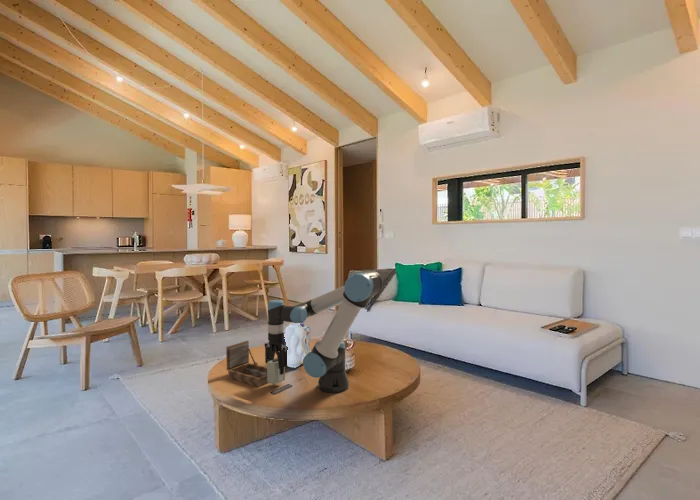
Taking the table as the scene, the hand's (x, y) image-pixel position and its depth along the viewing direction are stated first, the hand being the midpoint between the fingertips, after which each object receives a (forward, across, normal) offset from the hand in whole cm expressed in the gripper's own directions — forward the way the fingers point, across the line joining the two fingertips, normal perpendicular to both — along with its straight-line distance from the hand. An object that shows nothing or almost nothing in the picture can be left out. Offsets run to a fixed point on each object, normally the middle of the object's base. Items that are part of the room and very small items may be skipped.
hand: (276, 379), depth 203 cm
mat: (+4, 0, 0) cm, 4 cm away
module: (+1, 0, 0) cm, 1 cm away
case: (+4, +17, -1) cm, 18 cm away
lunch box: (+5, +16, -33) cm, 37 cm away
